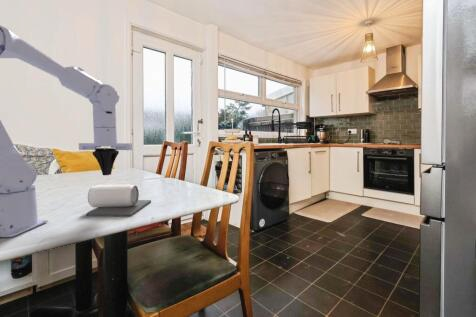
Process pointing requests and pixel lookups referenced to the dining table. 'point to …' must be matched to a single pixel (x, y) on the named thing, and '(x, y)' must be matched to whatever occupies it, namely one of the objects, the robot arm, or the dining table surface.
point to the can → (113, 195)
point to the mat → (119, 210)
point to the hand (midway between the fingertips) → (107, 174)
